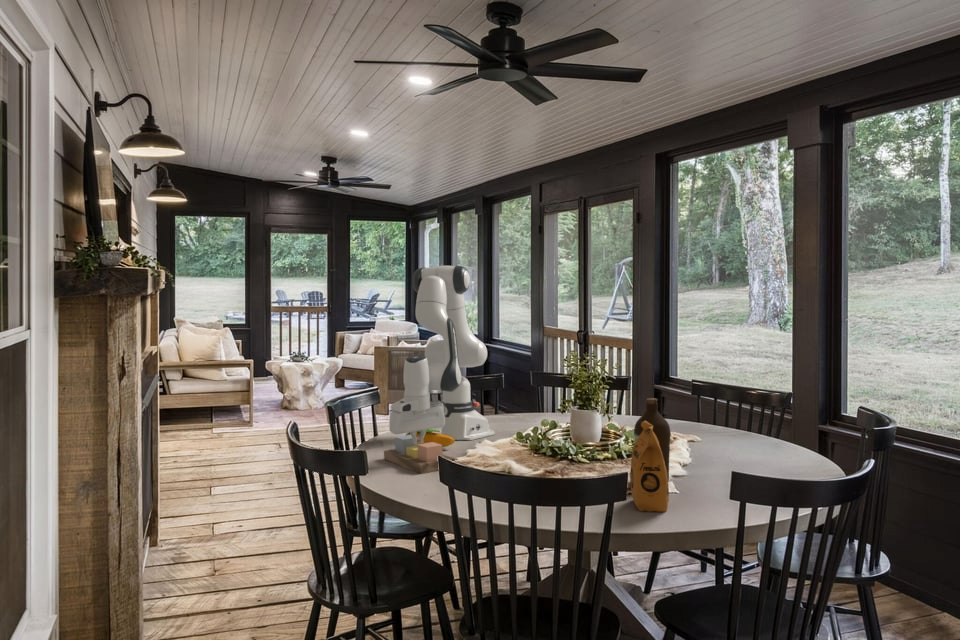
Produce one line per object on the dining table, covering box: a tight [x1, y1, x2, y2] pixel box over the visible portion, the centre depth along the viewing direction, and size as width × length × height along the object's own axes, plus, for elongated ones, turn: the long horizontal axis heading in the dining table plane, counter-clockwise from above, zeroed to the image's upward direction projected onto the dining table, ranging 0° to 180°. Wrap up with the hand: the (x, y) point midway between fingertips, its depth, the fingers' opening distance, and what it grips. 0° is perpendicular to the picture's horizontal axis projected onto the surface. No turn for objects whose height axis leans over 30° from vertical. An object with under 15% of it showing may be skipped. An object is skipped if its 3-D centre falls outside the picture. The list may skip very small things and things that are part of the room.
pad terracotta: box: [418, 442, 444, 462], centre depth 237 cm, size 6×6×5 cm
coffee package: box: [629, 421, 670, 513], centre depth 191 cm, size 10×12×22 cm
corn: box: [405, 429, 456, 448], centre depth 266 cm, size 7×8×20 cm
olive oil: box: [633, 397, 671, 483], centre depth 214 cm, size 11×11×25 cm
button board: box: [383, 448, 456, 475], centre depth 244 cm, size 13×26×3 cm, turn 35°
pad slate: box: [394, 434, 418, 454], centre depth 250 cm, size 6×6×5 cm
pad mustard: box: [406, 445, 418, 458], centre depth 243 cm, size 6×6×5 cm
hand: (418, 443), depth 244 cm, fingers closed
